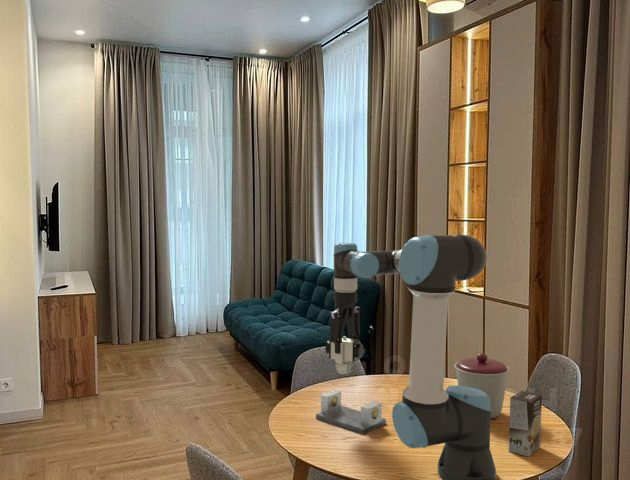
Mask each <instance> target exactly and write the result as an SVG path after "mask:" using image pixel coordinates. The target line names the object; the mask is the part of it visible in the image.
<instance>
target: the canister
mask: <svg viewBox="0 0 630 480" xmlns="http://www.w3.org/2000/svg"><path fill="white" fill-rule="evenodd" d="M454 369H456V379H457V380H456V381H457V386H466V387H471V388H475V389H478V390H481V391H483V392H485V393H486V394H487V395H488V396H489V397H490V407H491V418H490V420H491V419H495V418H498V416H500V415H501V413H502V410H503V406H504V400H505V394H506V387H507V386H506V385H507V378H508V374H509V372H510V370H511V369H510V367H509V366H507V365H506V364H505V363H503V362H501V361H499V360H495V359H493V358H492V359H491V358H488V356H487V354H486V353H483V352H479V353H477V355H476V357H467V358H463V359H461V360H459V361H457V362H455V364H454Z"/></svg>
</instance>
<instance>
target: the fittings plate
mask: <svg viewBox="0 0 630 480" xmlns="http://www.w3.org/2000/svg"><path fill="white" fill-rule="evenodd" d="M382 406H383V405H382V402H379V401H375V400H373V401H371V402H368V403H366V404H363V405H361V406H360V410H357V409H355V408H351V407H348V406H344V405H342V391H341V390H337V389H332V390H329V391H328V392H326V393H321V395H320V412H317V413H316V414H315V418H316V420H319V421H323V422H326V423H329V424H332V425H335V426H337V427H341V428H344V429H346V430H350V431H352V432H355V433H358V434H362V435H365V434H367V433H369V432H371V431H373V430H375V429H377V428H380V427H383V426H384V425H385V424H386V423H387V419H386V418H384V417H382Z"/></svg>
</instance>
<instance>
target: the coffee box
mask: <svg viewBox="0 0 630 480" xmlns="http://www.w3.org/2000/svg"><path fill="white" fill-rule="evenodd" d="M542 403H543V394H540V393H535V392H530V391H524V390H521V391H519V392H517V393H516V394H514V395H513V396H510V398H509V424H508V425H509V429H508V430H509V433H508V452H510V453H514V454H517V455H521V456H525V457H531V456H532V455H533V454H534V453H536V451H537V449H538V450H539V449H540V448H541V438H542V437H541V436H542V435H541V432H542Z"/></svg>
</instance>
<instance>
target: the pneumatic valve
mask: <svg viewBox="0 0 630 480" xmlns="http://www.w3.org/2000/svg"><path fill="white" fill-rule="evenodd" d="M338 340H339V339H338ZM342 343H343V364H339V363H336V364H335V370H336V372H337V373H338V374H343V375H348V374H349V373H351V372H353V370H354V367H353V366H354V365H353V364H352V362H353V363H354V362H356V361H357V360H359V359H361V358H362V357H363V355H364V345H363V343H361V339H358V340H357V339H350V338H349V337H348V338H347V336H345V335H343V337H342ZM325 353H326V354H327V355H328V359H329V360H331V359H332V360H335V344H334V343H332V342H330V339H329V340H327V342H326V344H325Z"/></svg>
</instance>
